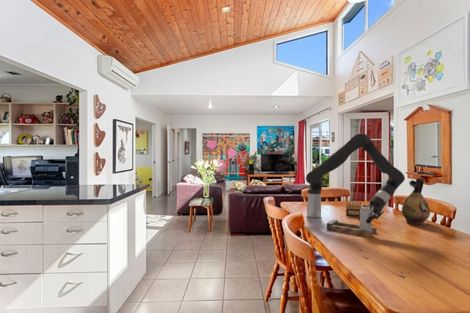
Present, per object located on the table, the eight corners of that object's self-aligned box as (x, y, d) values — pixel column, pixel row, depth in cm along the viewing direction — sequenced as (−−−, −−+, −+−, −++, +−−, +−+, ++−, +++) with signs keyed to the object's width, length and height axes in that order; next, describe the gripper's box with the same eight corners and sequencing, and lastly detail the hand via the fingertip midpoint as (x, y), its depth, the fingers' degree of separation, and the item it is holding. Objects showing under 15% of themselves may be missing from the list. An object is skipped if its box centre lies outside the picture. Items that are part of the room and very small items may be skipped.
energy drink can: (361, 231, 156) (361, 206, 156) (372, 233, 152) (372, 207, 152) (358, 233, 151) (358, 207, 151) (370, 235, 148) (370, 209, 147)
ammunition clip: (361, 216, 194) (361, 200, 194) (361, 216, 193) (361, 200, 192) (346, 215, 199) (346, 199, 199) (346, 215, 197) (345, 199, 197)
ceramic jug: (421, 227, 164) (421, 179, 164) (396, 221, 178) (396, 177, 178) (436, 223, 172) (436, 178, 172) (411, 218, 186) (411, 176, 186)
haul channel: (326, 229, 160) (326, 223, 160) (333, 225, 169) (333, 219, 169) (371, 237, 144) (371, 230, 144) (376, 232, 153) (376, 225, 153)
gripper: (367, 193, 160) (350, 214, 158) (386, 197, 146) (368, 220, 144) (374, 201, 162) (358, 222, 159) (394, 206, 148) (376, 228, 145)
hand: (363, 221), depth 151 cm, fingers closed on energy drink can, 6 cm apart
